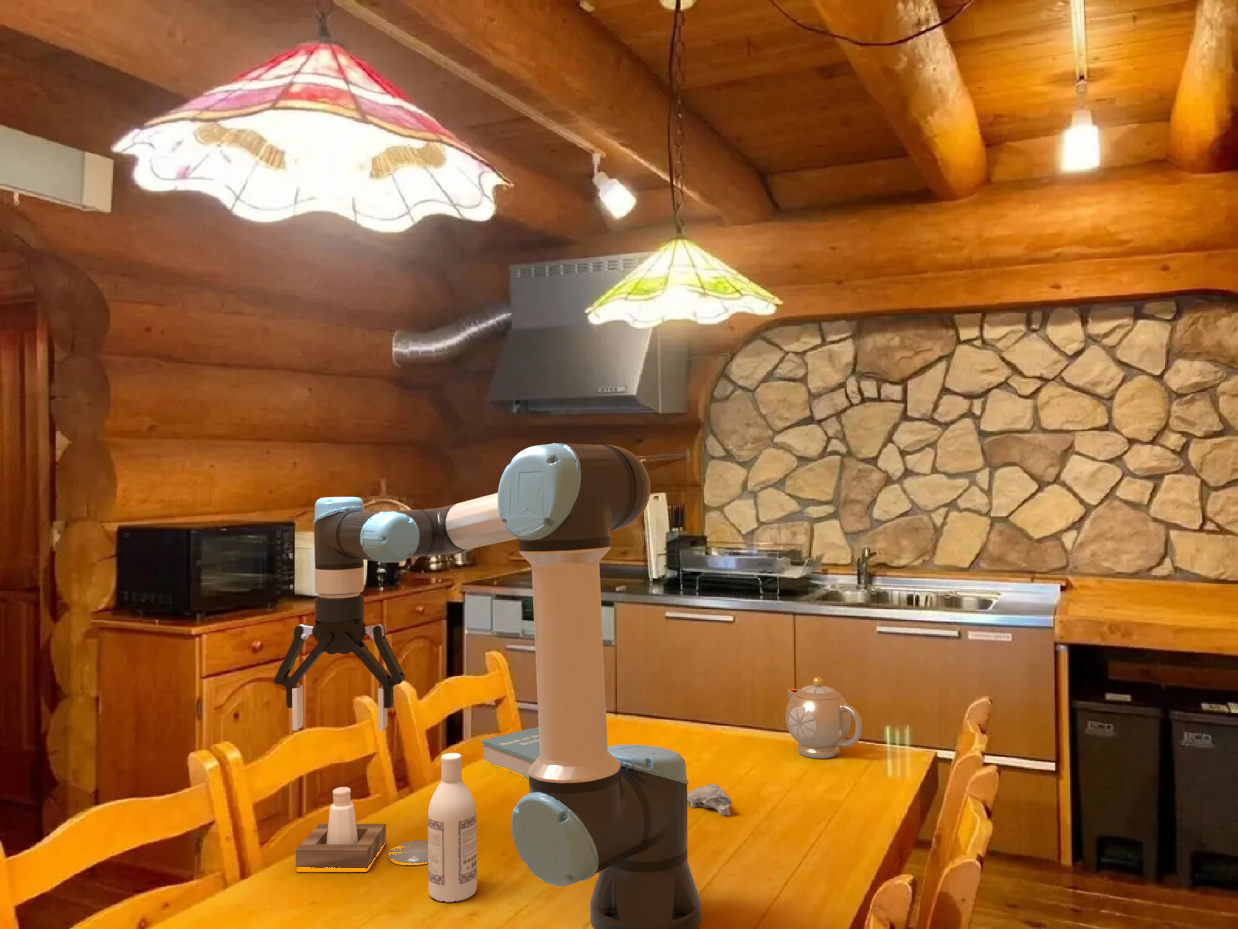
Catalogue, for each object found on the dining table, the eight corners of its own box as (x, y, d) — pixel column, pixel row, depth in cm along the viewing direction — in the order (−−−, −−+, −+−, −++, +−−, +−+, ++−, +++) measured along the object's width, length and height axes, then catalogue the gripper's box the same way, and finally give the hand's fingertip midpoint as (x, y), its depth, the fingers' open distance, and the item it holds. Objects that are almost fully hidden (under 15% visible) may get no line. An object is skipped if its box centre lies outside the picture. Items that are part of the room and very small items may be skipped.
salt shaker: (363, 851, 159) (362, 783, 159) (355, 865, 154) (355, 794, 154) (329, 852, 159) (328, 784, 159) (320, 866, 154) (319, 795, 154)
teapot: (770, 753, 210) (769, 676, 210) (806, 740, 220) (806, 667, 220) (844, 771, 198) (843, 689, 198) (879, 756, 208) (878, 678, 208)
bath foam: (478, 881, 147) (476, 747, 147) (475, 902, 141) (474, 761, 141) (430, 884, 147) (429, 749, 147) (426, 905, 140) (424, 763, 140)
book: (481, 764, 207) (481, 740, 207) (542, 748, 218) (542, 725, 218) (548, 789, 190) (548, 763, 190) (611, 771, 201) (610, 747, 201)
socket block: (367, 873, 151) (367, 850, 151) (295, 873, 151) (295, 850, 151) (386, 845, 162) (385, 823, 162) (319, 845, 162) (319, 823, 162)
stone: (698, 822, 172) (699, 799, 172) (679, 797, 184) (679, 775, 184) (734, 820, 173) (734, 796, 173) (712, 795, 185) (713, 773, 185)
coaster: (439, 866, 153) (439, 862, 153) (381, 866, 153) (381, 862, 153) (450, 844, 162) (450, 840, 162) (395, 844, 162) (395, 840, 162)
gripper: (423, 591, 160) (423, 722, 160) (270, 591, 161) (271, 721, 161) (412, 597, 153) (413, 735, 153) (252, 597, 153) (253, 734, 153)
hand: (340, 728), depth 157 cm, fingers open, 13 cm apart
